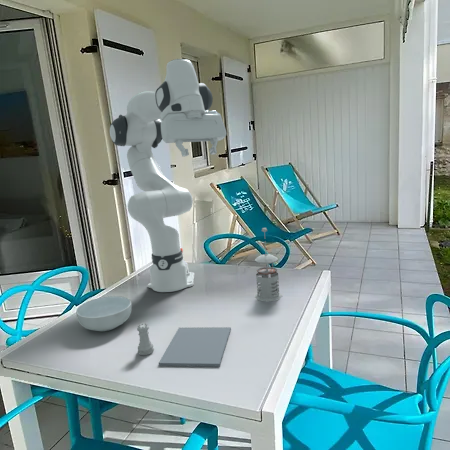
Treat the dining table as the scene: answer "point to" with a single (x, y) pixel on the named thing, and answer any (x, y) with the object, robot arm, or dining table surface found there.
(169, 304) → the dining table surface
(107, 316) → the cereal bowl
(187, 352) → the mat
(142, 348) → the rook chess piece
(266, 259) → the french press
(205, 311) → the dining table surface
